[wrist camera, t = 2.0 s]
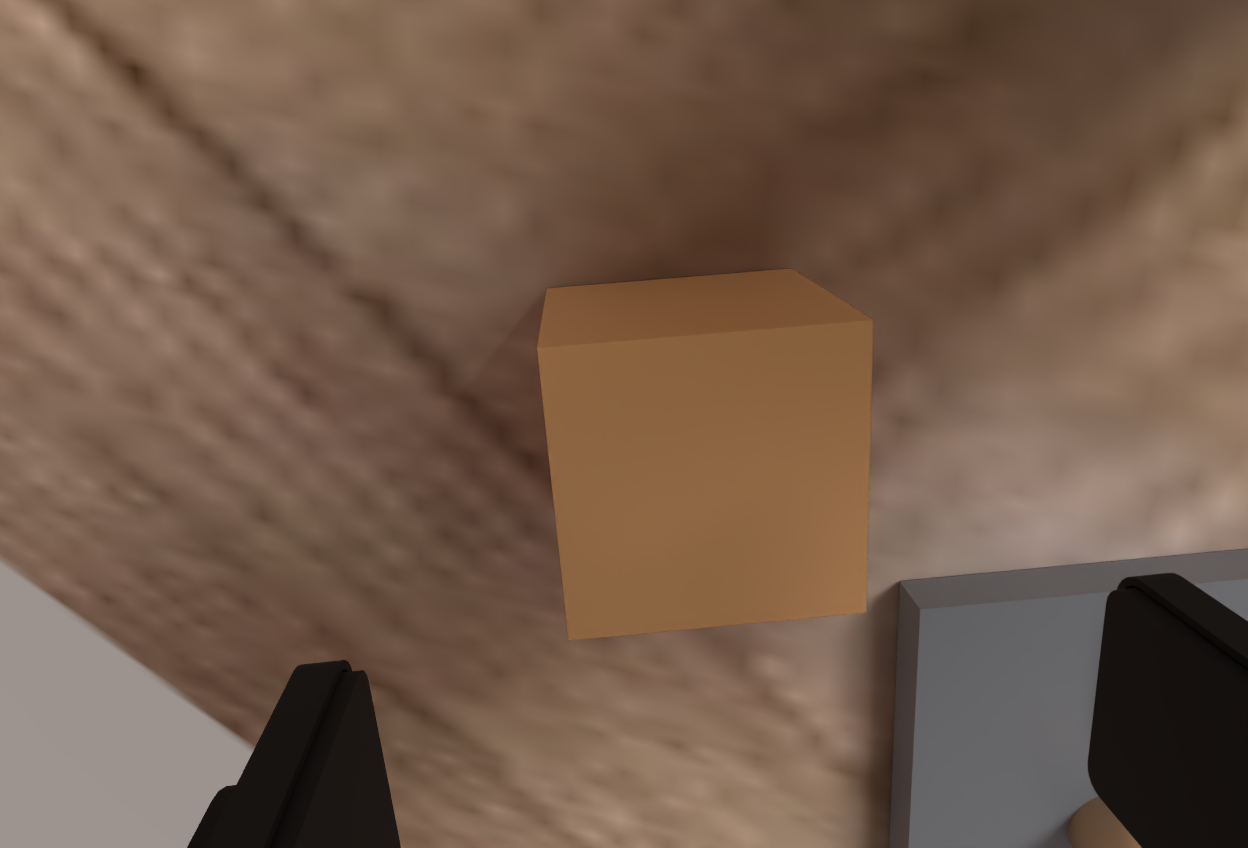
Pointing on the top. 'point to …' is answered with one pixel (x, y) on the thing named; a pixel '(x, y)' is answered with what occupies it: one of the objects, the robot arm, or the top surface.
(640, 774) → the top surface
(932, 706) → the plate
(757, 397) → the tan wooden cube
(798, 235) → the top surface
